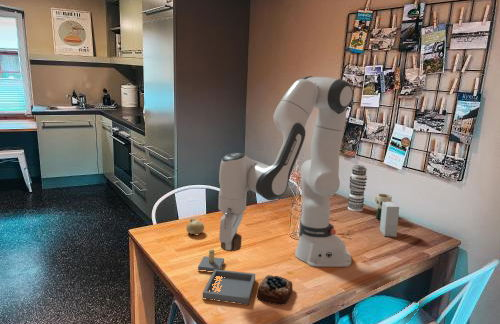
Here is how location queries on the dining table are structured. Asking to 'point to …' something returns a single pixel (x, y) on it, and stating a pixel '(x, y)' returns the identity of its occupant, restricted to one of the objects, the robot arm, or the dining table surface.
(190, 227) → the onion
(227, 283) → the tray
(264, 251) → the dining table surface
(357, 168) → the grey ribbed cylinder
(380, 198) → the character mug
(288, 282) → the pastry
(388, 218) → the skincare box
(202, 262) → the grey peg stand
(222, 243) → the ring
